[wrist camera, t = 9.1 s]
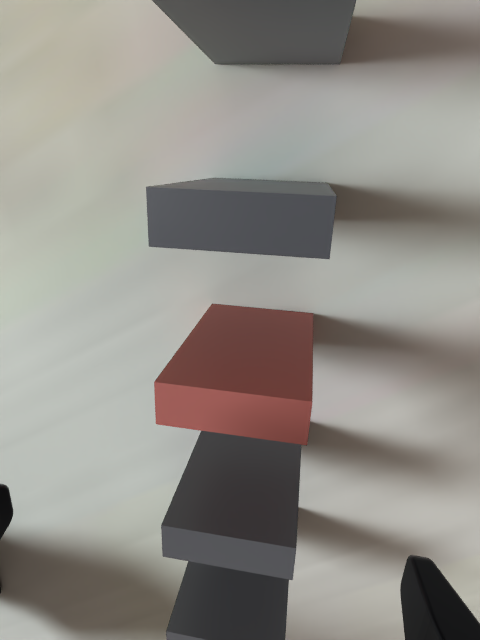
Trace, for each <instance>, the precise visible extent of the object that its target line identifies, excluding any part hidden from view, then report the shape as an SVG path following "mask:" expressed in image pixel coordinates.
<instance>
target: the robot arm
mask: <svg viewBox="0 0 480 640" xmlns="http://www.w3.org/2000/svg"><path fill="white" fill-rule="evenodd" d="M12 517H13V507H12V502H11V497H10V492H9V488H8V487H7V486H6V485H4V484H0V540H1V538H2V536H3V534H4V533H5V531H6V529H7V527H8V526H9V524H10V522H11V520H12ZM400 592H401V604H402V613H403V623H404V633H405V640H480V623H479V622H478V621H477V619H476V618H475V617H474V615H473V614H472V613H471V611H470V610H469V609H468V607H467V606H466V605H465V603H464V602H463V601H462V599H461V598H460V597H459V595H458V594H457V593H456V591H455V590H454V589H453V587H452V586H451V585H450V583H449V582H448V581H447V579H446V578H445V577H444V575H443V574H442V573H441V572H440V570H439V569H438V568H437V566H436V565H435V564H434V562H433V561H432V560H431V559H429V558H426V557H420V556H414V555H410V556H409V557H408V559H407V562H406V565H405V569H404V573H403V577H402V581H401V589H400ZM0 593H1V588H0Z"/></svg>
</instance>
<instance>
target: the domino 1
mask: <svg viewBox="0 0 480 640" xmlns="http://www.w3.org/2000/svg"><path fill="white" fill-rule="evenodd" d="M152 1H153V2H154V3H155V4H156V5H157V6H158V7H159V8H160V9H161V10H162V11H163V12H164V13H165V14H166V15H167V16H168V17H169V18H170V19H171V20H172V21H173V22H174V23H175V24H176V25H177V26H178V27H179V28H180V29H181V30H182V31H183V32H184V33H185V34H186V35H187V36H188V37H189V38H190V39H191V40H192V41H193V42H194V43H195V44H196V45H197V46H198V47H199V48H200V49H201V50H202V51H203V52H204V53H205V54H206V55H207V56H208V57H209V58H210V59H211V60H212V61H213V62H214V63H215V64H340V62H341V58H342V54H343V50H344V46H345V43H346V39H347V35H348V31H349V27H350V23H351V19H352V15H353V11H354V7H355V3H356V0H152Z"/></svg>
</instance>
